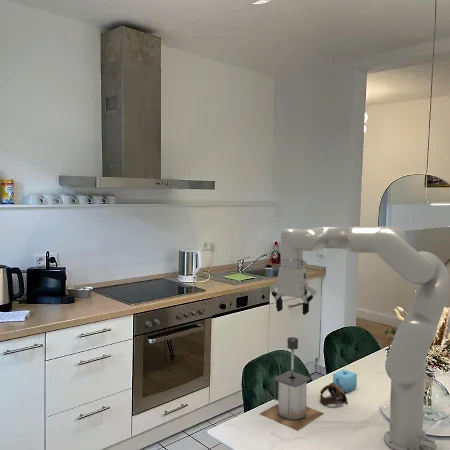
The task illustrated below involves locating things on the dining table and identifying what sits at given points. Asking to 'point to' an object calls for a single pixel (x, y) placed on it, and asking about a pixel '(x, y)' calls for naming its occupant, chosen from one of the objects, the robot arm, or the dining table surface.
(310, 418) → the walnut board
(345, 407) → the dining table surface
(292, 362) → the plunger
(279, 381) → the press carafe
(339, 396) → the brown curved piece
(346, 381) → the blue square teapot
